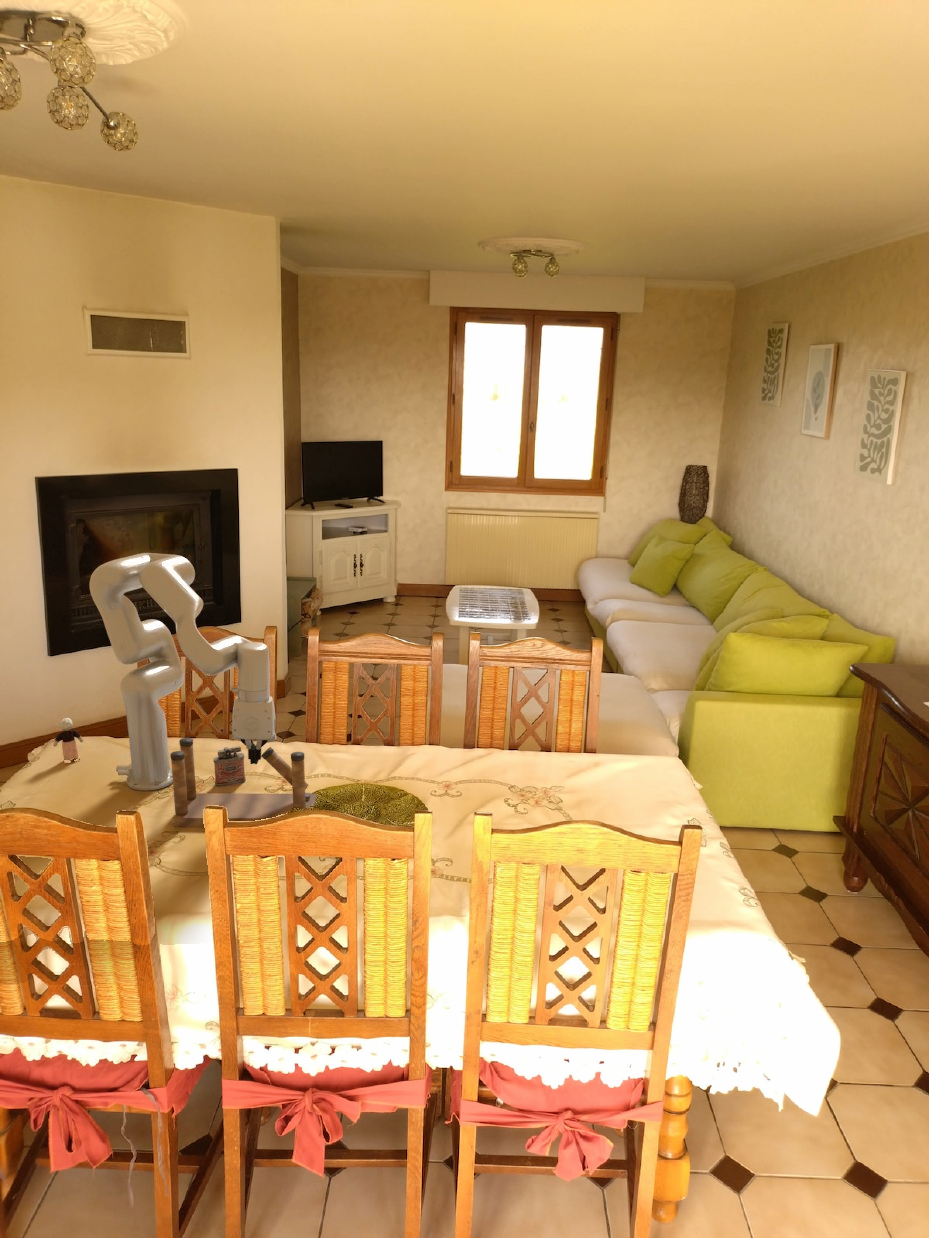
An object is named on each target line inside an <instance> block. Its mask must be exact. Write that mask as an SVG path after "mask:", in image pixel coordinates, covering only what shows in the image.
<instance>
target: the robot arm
mask: <svg viewBox="0 0 929 1238" xmlns="http://www.w3.org/2000/svg"><path fill="white" fill-rule="evenodd" d="M195 577H196V571H195V568H194V566H193V564H192V563H191V561H190V560H188V558H185V557H184V556H182V555H180V554H179V555H177V554H168V553H155V552H153V553H152V552H141V553H137V554H133V555H129V556H126V557H120V558H117V559H113V560H110V561H108V562H104V563H103V564H101V565H98V567H97V568H95V570H94V571H93V572H92V574H91V576H90V580H89V591H90V596H91V597H92V598H91V599H92V600H93V603H94V604H95V606H96V608H97V610H98V612H99V614H100V616H101V618H102V621H103V624H104V628H105V630H106V634H107V637H108V639H109V641H110V645H111V648H112V649H113V650H112V651H113V653H114V655H115V657H116V659H117V661H118V662H119V663H121V664H123V665H133V664H137V663H140V662H142V661H144V660H147V659H148V660H149V663H146V664H144V665H142V666H138V667H137V668H134V669H132V670H130V671H128V672H127V673H126V674H125V675H124V676H123V677H122V678H121V681H120V686H119V691H120V695H121V697H122V701H123V705H124V708H125V713H126V722H127V730H128V741H129V753H130V763H129V764H128V765H127V764H117V765H116V768H115V771H116V773H117V775H118V776H127V777H126V786H127V787H129V788H131V789H133V790H135V791H141V792H142V791H143V792H145V791H156V790H161V789H163V788H167V787H168V786H170V785H173V776H172V768H171V767H170V757H169V756H170V755H169V743H168V741H169V740H168V730H167V720H166V718H167V717H166V715H165V712H164V709H163V708H162V706H160V704H159V700H160V699H162V698H164V697H166V696H168V695H170V694H172V693H175V692H176V691H178V690H179V689H180V688H181V687H182V686H183V684H184V681H185V673H184V668H183V665H182V662H181V659H180V656H179V652H178V650H177V646H176V644H175V640H174V637H173V634H171V631H170V630H169V628H168V627H167V626H166V624H164V622H162V621H160V620H158V619H153V618H151V619H146V620H143V621H141V619H140V616H139V614H138V613H139V612H138V610H137V608H136V606H135V604H134V603H133V602H132V600H130V599H129V598H128V597H127V596H126V595H124V594H125V593H127V592H131V591H134V590H138V589H142V588H143V589H144V590H145V591H146V592H147V594H148V595H149V596H150V597H151V598H152V599H153V600H154V601H155V603H157V604H158V605H159V607H160V608H161V609H162V610H163V611H164V612H165V613H166V614H167V615H168V616H169V617H170V618H171V619H172V621H173V622H174V624H175V631H176V638H177V641H178V645H179V647H180V649H181V651H182V653H183V654H184V656H185V657H187V659H188V660H189V661H190V662H191V663H192V664H193V665H194V666H195V667H196V669H198V670H199V671H200V672H201V673H203V674H205V675H207V676H218V675H220V674H222V673H225V672H227V671H229V670H231V669H233V668H237V686H235V687H232V690H231V693H233V694H236V695H237V696H236V697H235V698H234V701H233V702H234V703H233V707H232V717H231V719H232V720H231V722H232V723H231V735H232V738H231V739H232V740H234V741H237V742H241V743H242V744H243V745H244V747H245V746H246V749H247V755H248V756H247V759H248V760H249V761H250V765H257V764H258V763H259V761H261V759H262V757H261V756H262V747H264V746H265V745H266V744H268V743H273V742H276V740H277V733H276V732H277V731H276V730H277V719H276V711H275V710H276V709H275V704H274V700H273V696H271V695H270V693H271V692H270V688H271V687H270V686H271V681H270V680H271V679H270V678H271V677H270V676H271V675H270V674H271V673H270V671H271V670H270V664H271V663H270V660H271V659H270V648H269V646H268V645H267V644H265V643H263V642H257V641H251V640H249V639H247V638H245V637H243V636H240V635H236V634H233V635H228V636H226V637H223V638H220V639H219V640H216V641H213V642H210V643H209V641H207V640H206V638H204V637H203V635H202V634H201V633H200V631H199V629H198V628H197V627H198V626H197V624H196V619H197V617H198V616H199V615H200V614H201V611H202V610H203V607H204V600H203V599H202V598H201V597H200V596H199V595H198V594H197V593H196V591H195V590H194V589H193V588H192V587H191V586H190V585H191V584H193V583H194V580H195ZM254 741H256V743H254Z"/></svg>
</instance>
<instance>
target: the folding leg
mask: <svg viewBox="0 0 929 1238" xmlns="http://www.w3.org/2000/svg"><path fill="white" fill-rule="evenodd" d="M261 759H263V760H265V761H266V762H267V763H268V764H269V765H270V766H271V767H272V768H273V769H274V770H275V771H276V772H277V773H278V774H279V775H280V776H281V777H282V778H283V779H284V780H285V781H287V782H288V784H289V785H291V786H292V766H290V765H289V764H288V763H287V762H286V760H284V759H283V758H282V757H281V756H280V755H279V754H278V753H277V752H276V751H275V749H273V747H271V746H270V747H268V748H267V749H266V750H265V751H264V752H263V753H261ZM308 787H309V784H308V783H307V781H305V790H306V789H307V788H308Z"/></svg>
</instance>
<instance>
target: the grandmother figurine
mask: <svg viewBox="0 0 929 1238" xmlns="http://www.w3.org/2000/svg"><path fill="white" fill-rule="evenodd" d="M59 728H60V729H62V730H63V731H61V732H60V733H58V734H57V735H56V737H55V738H54V742H53V744H52V746H53V747H57V746H58V743H59V742H61V748H62V749H61V750H62V755H63V761H64V760H70V759H71V760H73V758H74V760H76V759H78V757H80V755H79V749H78V745H77V741H76V739H75V738H77V739H78V741H79V742H80V743H83V742H84V739H83V737H82V736H81V734H80V733H79V732H78V731H77V730H75V729H73V720H72V719H71V718H69V717H64V718H62V719H61V720H60V722H59Z"/></svg>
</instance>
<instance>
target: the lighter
mask: <svg viewBox="0 0 929 1238" xmlns="http://www.w3.org/2000/svg"><path fill="white" fill-rule="evenodd" d="M213 764H214V777H215V781H214V786H215V787H216V788H224V787H231V786H236V785H240V784H242V783H243V784H244V783H245V782H246V774H245V773H246V772H245V754H244V753H243V752H242V747H241V746H239V745H238V746H233V747H232V746H231V748H229V747H228V746H226V747H224V748H223V749H219V750H217V756H216V757H213Z"/></svg>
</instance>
